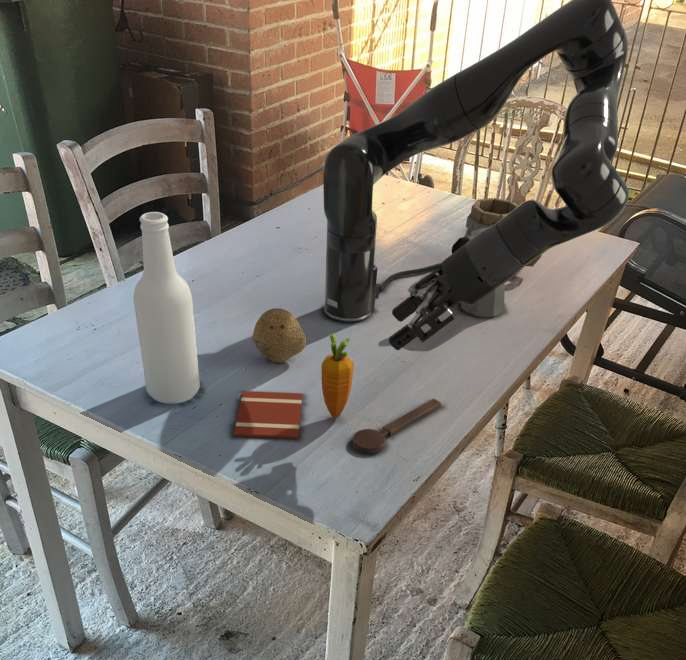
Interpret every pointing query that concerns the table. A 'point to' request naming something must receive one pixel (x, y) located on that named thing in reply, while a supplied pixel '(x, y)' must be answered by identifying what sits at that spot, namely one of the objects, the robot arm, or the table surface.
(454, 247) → the coffeepot
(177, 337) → the alcohol
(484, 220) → the tankard
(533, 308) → the table surface
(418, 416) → the wooden spoon
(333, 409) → the carrot
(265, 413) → the tea towel
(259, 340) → the brown round lump
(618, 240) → the table surface
